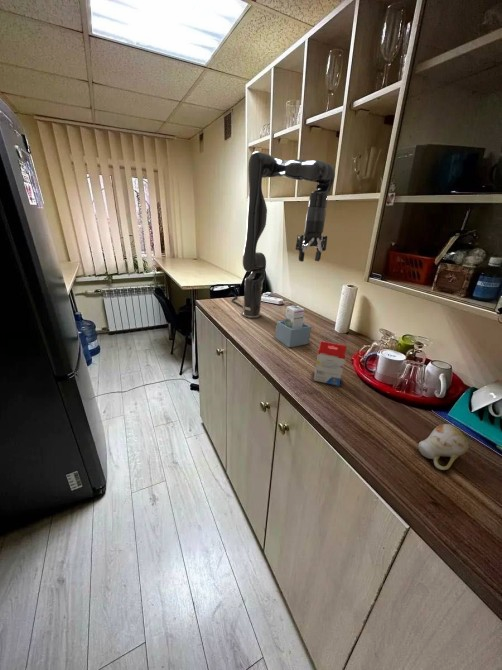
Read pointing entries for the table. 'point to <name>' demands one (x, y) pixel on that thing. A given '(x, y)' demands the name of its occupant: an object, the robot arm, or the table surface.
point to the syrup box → (294, 317)
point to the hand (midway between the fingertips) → (309, 261)
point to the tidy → (292, 334)
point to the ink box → (330, 363)
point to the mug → (444, 445)
